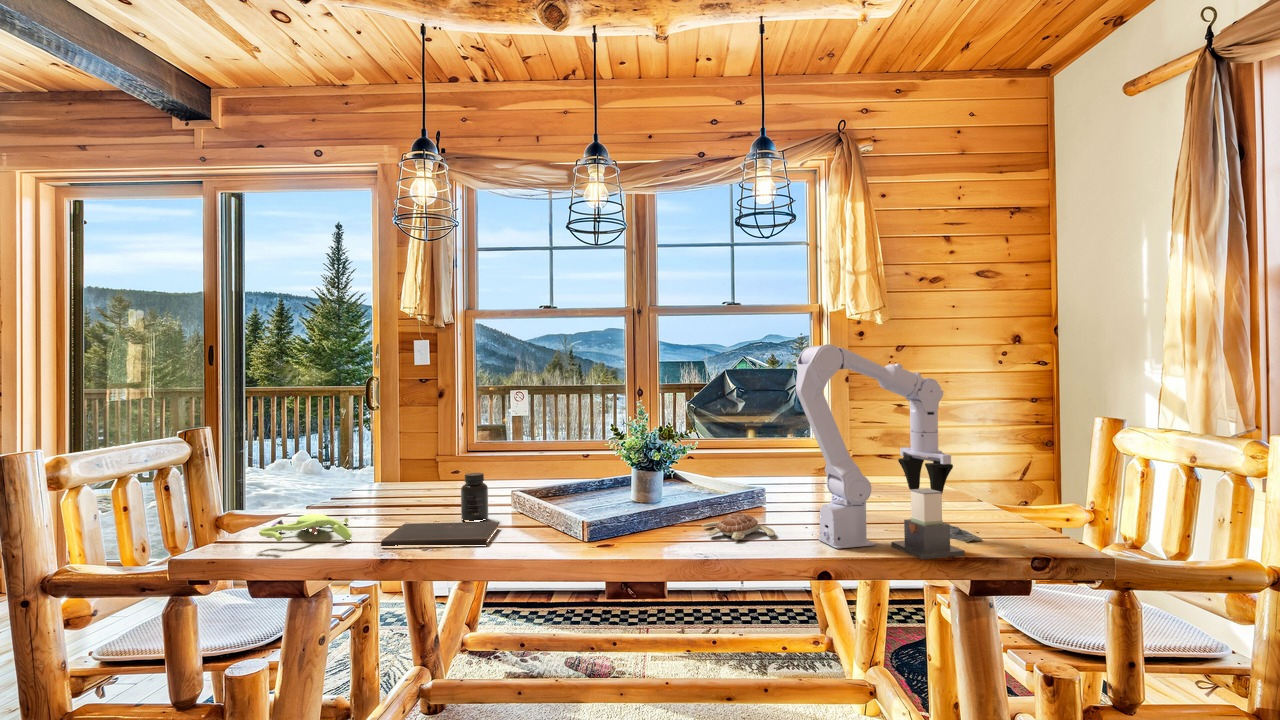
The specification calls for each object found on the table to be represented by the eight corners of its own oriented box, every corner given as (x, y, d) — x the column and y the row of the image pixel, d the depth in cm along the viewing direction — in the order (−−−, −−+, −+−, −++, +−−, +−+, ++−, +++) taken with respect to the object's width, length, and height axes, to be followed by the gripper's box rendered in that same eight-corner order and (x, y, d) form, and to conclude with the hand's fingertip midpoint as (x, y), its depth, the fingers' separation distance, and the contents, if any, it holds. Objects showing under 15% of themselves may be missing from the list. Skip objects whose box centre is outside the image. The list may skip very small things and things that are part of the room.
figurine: (257, 559, 136) (257, 532, 136) (266, 531, 160) (266, 508, 160) (352, 547, 144) (352, 522, 144) (348, 522, 168) (347, 501, 168)
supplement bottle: (460, 518, 170) (460, 472, 170) (487, 516, 172) (486, 471, 172) (461, 524, 163) (461, 476, 163) (489, 521, 165) (488, 475, 166)
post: (924, 535, 132) (923, 493, 132) (910, 529, 136) (910, 489, 136) (942, 533, 133) (942, 491, 133) (928, 528, 137) (927, 488, 138)
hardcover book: (404, 532, 157) (404, 523, 157) (499, 531, 158) (499, 521, 158) (380, 551, 141) (380, 540, 141) (486, 549, 142) (486, 538, 142)
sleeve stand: (922, 559, 129) (921, 529, 129) (891, 546, 138) (890, 518, 138) (964, 555, 131) (964, 525, 131) (931, 542, 141) (930, 515, 141)
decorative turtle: (787, 532, 153) (787, 511, 153) (759, 548, 139) (759, 525, 139) (719, 523, 163) (718, 503, 163) (686, 537, 149) (686, 515, 149)
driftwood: (986, 545, 140) (985, 535, 141) (955, 545, 140) (955, 536, 140) (939, 524, 161) (939, 515, 161) (912, 524, 161) (912, 516, 161)
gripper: (962, 433, 138) (964, 497, 138) (918, 428, 152) (919, 485, 152) (934, 435, 136) (935, 499, 136) (892, 429, 151) (893, 487, 150)
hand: (925, 492), depth 144 cm, fingers open, 7 cm apart
